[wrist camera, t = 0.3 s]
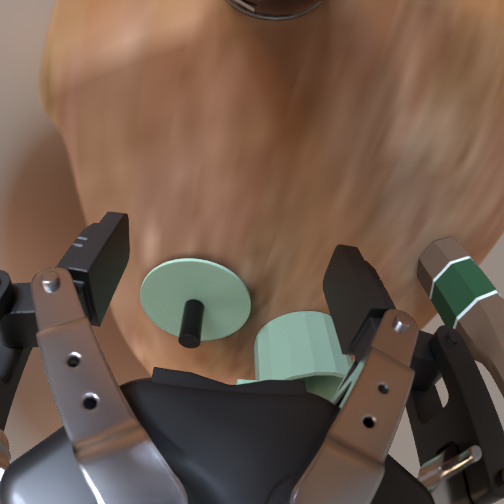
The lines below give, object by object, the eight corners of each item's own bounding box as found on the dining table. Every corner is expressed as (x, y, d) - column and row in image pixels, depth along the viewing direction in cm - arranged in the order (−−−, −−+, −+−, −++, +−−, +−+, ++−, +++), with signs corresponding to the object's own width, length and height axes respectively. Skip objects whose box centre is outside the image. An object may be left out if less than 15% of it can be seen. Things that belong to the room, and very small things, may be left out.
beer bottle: (421, 291, 37) (492, 441, 18) (407, 255, 34) (499, 430, 14) (464, 263, 35) (549, 401, 15) (455, 224, 31) (567, 377, 12)
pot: (243, 304, 37) (245, 368, 29) (371, 315, 40) (392, 370, 32) (230, 360, 44) (229, 415, 37) (338, 365, 47) (349, 415, 39)
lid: (139, 247, 32) (122, 286, 27) (260, 263, 34) (264, 306, 28) (145, 326, 40) (135, 365, 34) (241, 339, 41) (241, 379, 36)
